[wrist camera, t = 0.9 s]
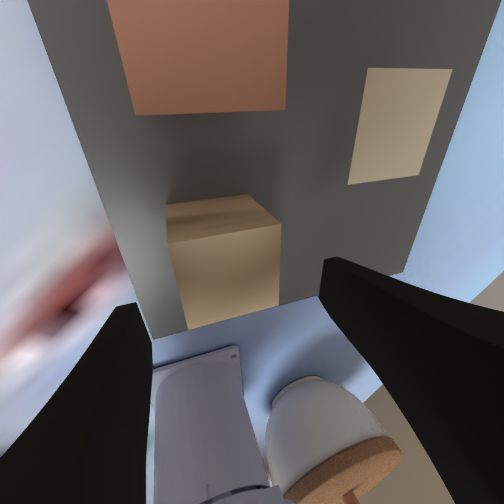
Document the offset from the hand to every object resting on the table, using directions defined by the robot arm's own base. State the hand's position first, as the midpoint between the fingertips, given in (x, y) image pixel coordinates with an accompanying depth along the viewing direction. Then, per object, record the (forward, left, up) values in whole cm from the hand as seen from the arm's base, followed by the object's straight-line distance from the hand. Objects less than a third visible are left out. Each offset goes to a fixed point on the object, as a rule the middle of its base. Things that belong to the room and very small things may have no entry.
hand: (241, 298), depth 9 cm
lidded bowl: (-24, -8, -7) cm, 26 cm away
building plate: (+2, -6, -7) cm, 9 cm away
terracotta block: (+8, 0, -6) cm, 10 cm away
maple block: (0, 0, -6) cm, 6 cm away
